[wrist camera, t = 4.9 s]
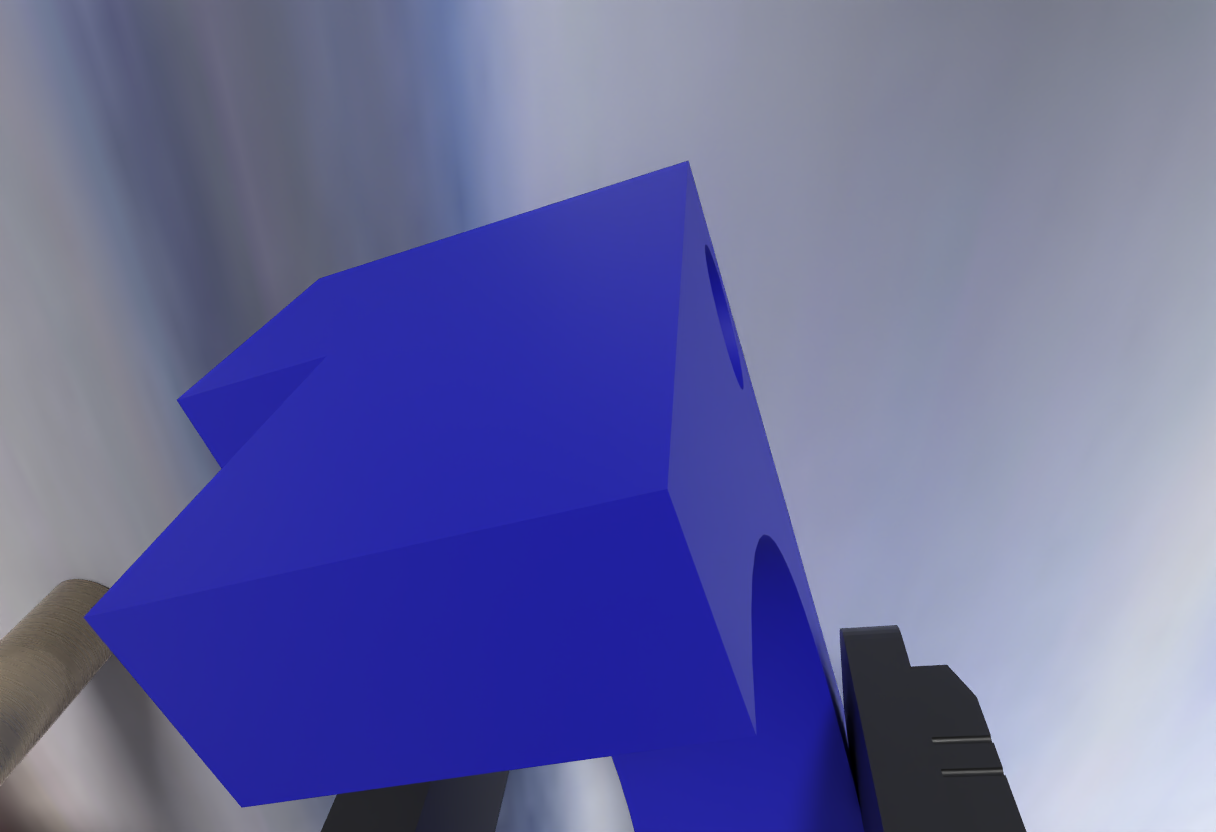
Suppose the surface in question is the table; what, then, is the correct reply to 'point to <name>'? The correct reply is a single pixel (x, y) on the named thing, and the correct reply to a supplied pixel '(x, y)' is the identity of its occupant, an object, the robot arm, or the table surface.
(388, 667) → the cable clip
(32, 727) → the wire track
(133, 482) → the table surface
